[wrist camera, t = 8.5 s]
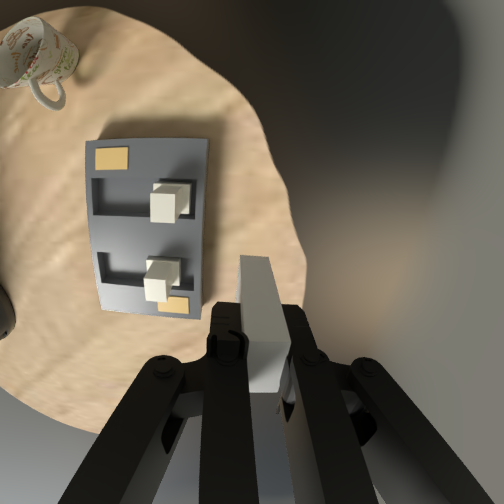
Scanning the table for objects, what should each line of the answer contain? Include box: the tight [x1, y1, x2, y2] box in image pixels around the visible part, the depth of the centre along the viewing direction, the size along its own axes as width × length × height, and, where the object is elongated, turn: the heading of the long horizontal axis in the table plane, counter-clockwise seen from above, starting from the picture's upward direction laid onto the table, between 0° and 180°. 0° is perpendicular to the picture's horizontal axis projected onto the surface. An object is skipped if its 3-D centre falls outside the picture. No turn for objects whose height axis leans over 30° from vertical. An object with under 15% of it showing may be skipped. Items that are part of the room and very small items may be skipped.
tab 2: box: [144, 255, 181, 302], centre depth 31 cm, size 4×3×6 cm
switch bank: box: [85, 138, 210, 320], centre depth 31 cm, size 14×22×3 cm, turn 174°
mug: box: [0, 17, 79, 111], centre depth 19 cm, size 8×13×10 cm, turn 25°
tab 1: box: [150, 181, 192, 223], centre depth 27 cm, size 4×3×6 cm
